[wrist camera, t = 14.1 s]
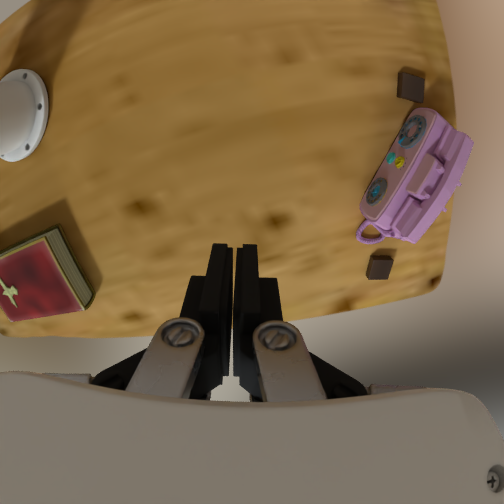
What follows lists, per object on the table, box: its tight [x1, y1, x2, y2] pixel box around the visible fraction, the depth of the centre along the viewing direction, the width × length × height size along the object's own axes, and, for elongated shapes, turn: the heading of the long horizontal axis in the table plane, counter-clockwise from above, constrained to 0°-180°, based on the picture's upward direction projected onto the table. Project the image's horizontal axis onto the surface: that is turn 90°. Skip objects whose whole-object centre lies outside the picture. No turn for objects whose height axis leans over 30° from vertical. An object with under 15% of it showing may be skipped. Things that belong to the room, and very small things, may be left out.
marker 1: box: [366, 255, 393, 280], centre depth 36 cm, size 3×3×1 cm
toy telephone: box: [356, 108, 474, 244], centre depth 26 cm, size 18×6×10 cm, turn 154°
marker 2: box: [397, 72, 424, 103], centre depth 25 cm, size 3×3×1 cm
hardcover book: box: [0, 224, 96, 322], centre depth 35 cm, size 12×21×4 cm, turn 104°
